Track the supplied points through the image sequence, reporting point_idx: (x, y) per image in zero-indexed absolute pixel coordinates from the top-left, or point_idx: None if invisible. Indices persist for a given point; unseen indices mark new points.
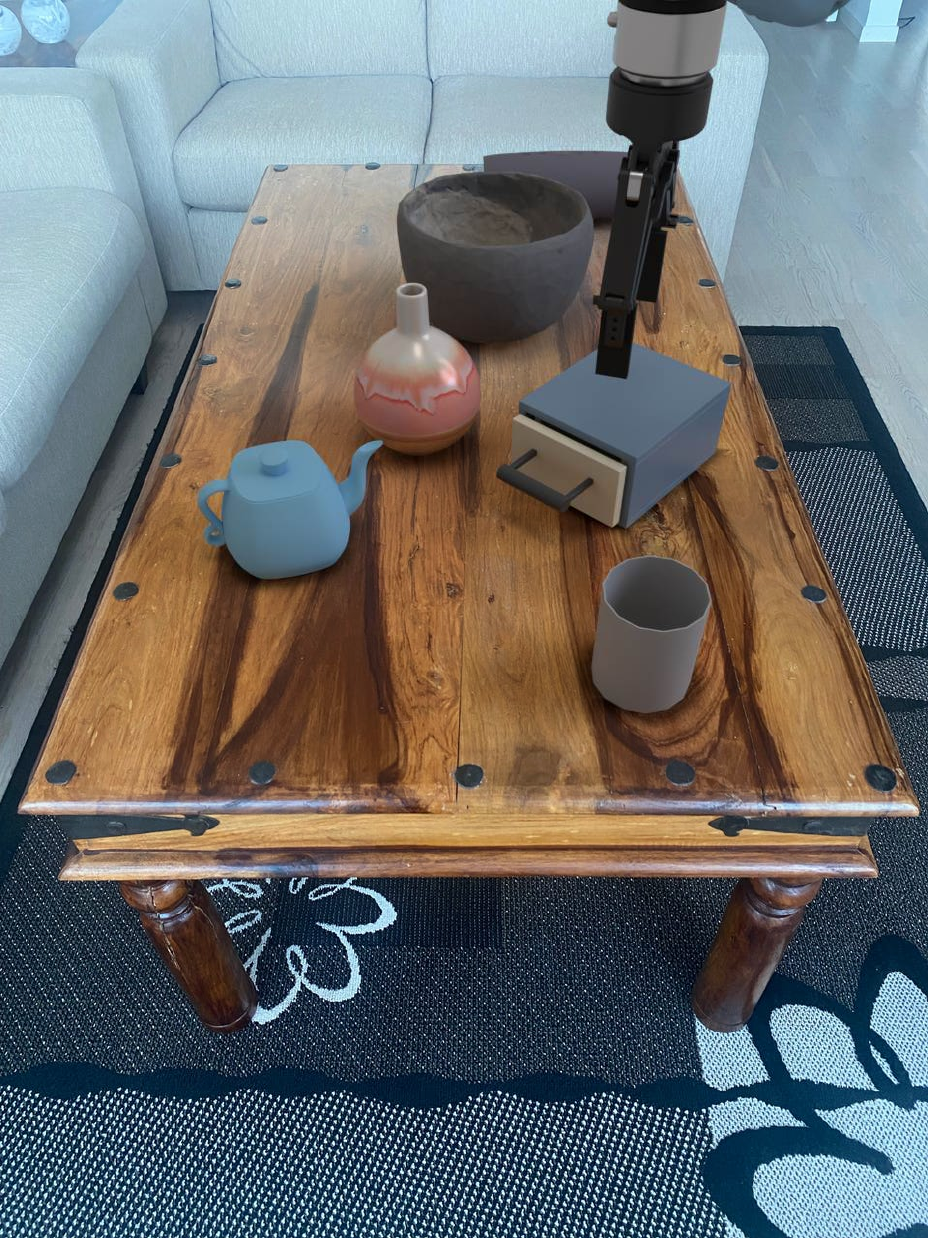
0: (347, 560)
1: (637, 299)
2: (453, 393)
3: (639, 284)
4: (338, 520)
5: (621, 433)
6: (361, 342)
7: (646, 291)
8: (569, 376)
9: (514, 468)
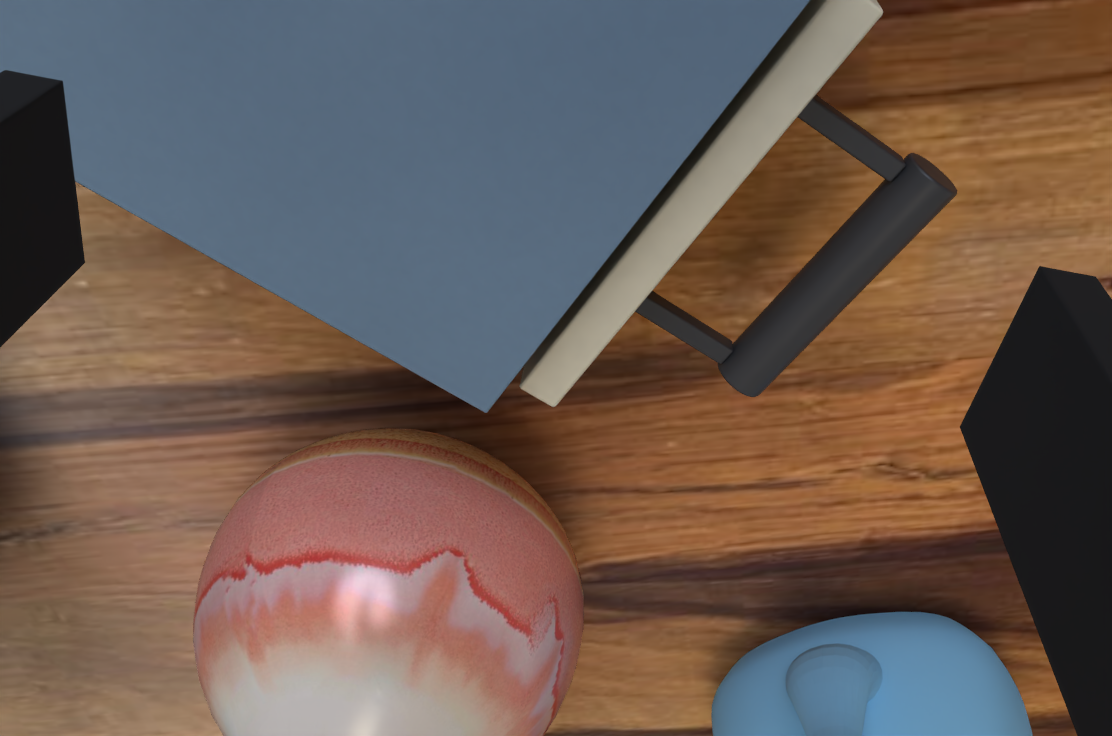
0: (926, 590)
1: (75, 206)
2: (486, 589)
3: (19, 258)
4: (961, 702)
5: (658, 27)
6: (55, 653)
7: (33, 185)
8: (273, 253)
9: (726, 343)
